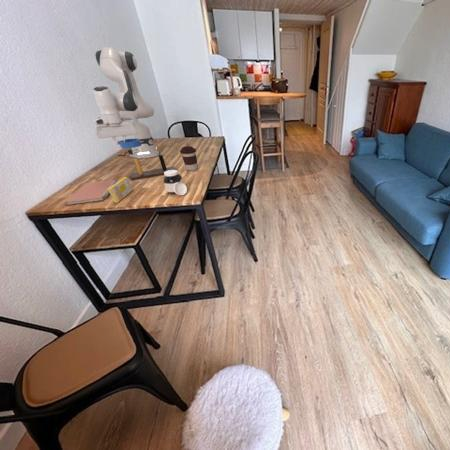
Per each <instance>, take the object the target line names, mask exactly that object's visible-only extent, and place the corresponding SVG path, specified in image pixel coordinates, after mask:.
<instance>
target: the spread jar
mask: <svg viewBox="0 0 450 450" xmlns="http://www.w3.org/2000/svg"><path fill="white" fill-rule="evenodd" d="M163 176H164V177H163V186H164V188H165V191H166V192H167V193H168V194H171V195H177V196H184V195H185V194H187V192H188V187H187V186H186V184H185V183H184V179H183V176H182V175H181V174H179V171H178V170H177V169H175V170H168V171H165V172H164V175H163Z"/></svg>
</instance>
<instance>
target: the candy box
mask: <svg viewBox="0 0 450 450" xmlns="http://www.w3.org/2000/svg"><path fill="white" fill-rule="evenodd" d="M108 190H109V192H110V193H109V195H110V196H111V199H112V201H113V202H114V204H119V203H120V202H121V201H122V200H123V199H124V198H125V197H127V196H128V195H129V194H131V193H132V192H133V191H134V189H133V186H132V184H131V182H130V180H129V178H128V176H124V177H122V178H120V179H119V180H118V181H117V183H115V184H114V185H112V186H111V187H109V188H108Z"/></svg>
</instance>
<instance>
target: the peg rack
mask: <svg viewBox="0 0 450 450" xmlns="http://www.w3.org/2000/svg"><path fill="white" fill-rule="evenodd" d="M158 158H159V162H160V166H161V167H160V168H156V169H149V170H143V168H142V165H141V162H140V159H139V158H135V157H134V158H133V161H134V163H135V164H134V165H135V166H136V170H137V172H131V173H130V180H131V181H136V180H142V179H147V178H153V177H154V178H155V177H159V176H165V175H164V172H165V171H168V170H176V169H175V167H174V166H168V167H167V166H166V163H165V159H164V156H163V154H159V155H158Z"/></svg>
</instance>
